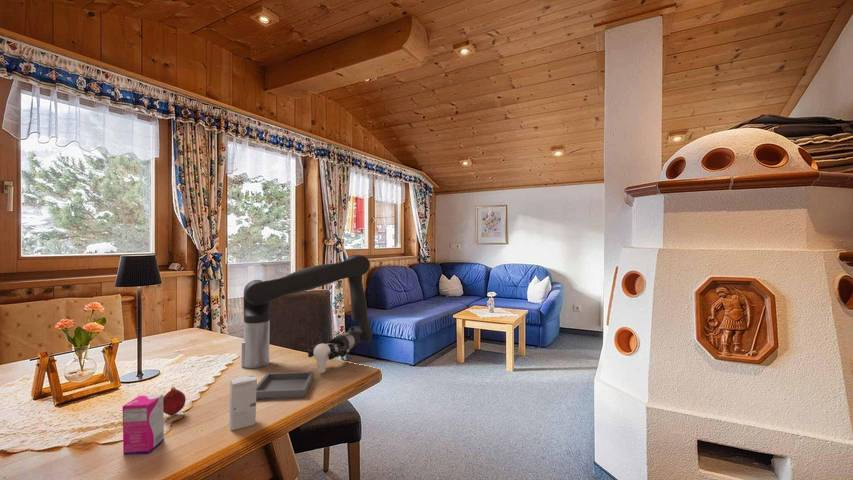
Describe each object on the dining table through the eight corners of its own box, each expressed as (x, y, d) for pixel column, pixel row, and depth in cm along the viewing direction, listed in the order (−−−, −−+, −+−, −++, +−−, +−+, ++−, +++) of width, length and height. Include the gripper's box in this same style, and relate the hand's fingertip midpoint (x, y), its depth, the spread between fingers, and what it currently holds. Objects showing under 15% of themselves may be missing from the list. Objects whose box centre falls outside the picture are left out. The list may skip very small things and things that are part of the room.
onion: (190, 412, 103) (190, 384, 103) (170, 422, 98) (170, 392, 98) (175, 409, 105) (176, 381, 105) (155, 418, 100) (155, 389, 100)
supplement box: (139, 441, 89) (139, 394, 89) (164, 440, 89) (165, 393, 89) (121, 455, 83) (121, 405, 83) (148, 454, 83) (149, 404, 83)
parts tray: (250, 400, 112) (250, 392, 112) (266, 380, 128) (267, 373, 128) (304, 397, 114) (304, 389, 114) (313, 378, 130) (313, 371, 130)
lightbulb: (332, 370, 138) (332, 341, 138) (326, 376, 132) (327, 346, 132) (317, 369, 138) (317, 341, 138) (310, 375, 132) (310, 345, 132)
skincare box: (230, 431, 94) (231, 384, 94) (228, 424, 97) (229, 379, 97) (256, 424, 97) (257, 379, 97) (253, 417, 101) (254, 374, 101)
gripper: (326, 333, 151) (302, 343, 135) (357, 336, 147) (336, 347, 131) (326, 351, 151) (302, 364, 135) (357, 354, 147) (336, 368, 131)
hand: (319, 355), depth 133 cm, fingers open, 8 cm apart
